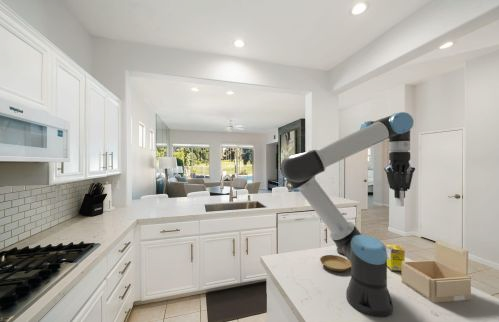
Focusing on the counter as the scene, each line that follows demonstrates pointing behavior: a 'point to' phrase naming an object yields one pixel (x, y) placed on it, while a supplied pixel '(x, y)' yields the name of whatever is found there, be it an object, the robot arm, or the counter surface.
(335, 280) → the counter surface
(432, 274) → the carton
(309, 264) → the counter surface
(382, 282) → the robot arm
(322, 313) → the counter surface
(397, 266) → the supplement box
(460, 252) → the flap
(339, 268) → the plant saucer
